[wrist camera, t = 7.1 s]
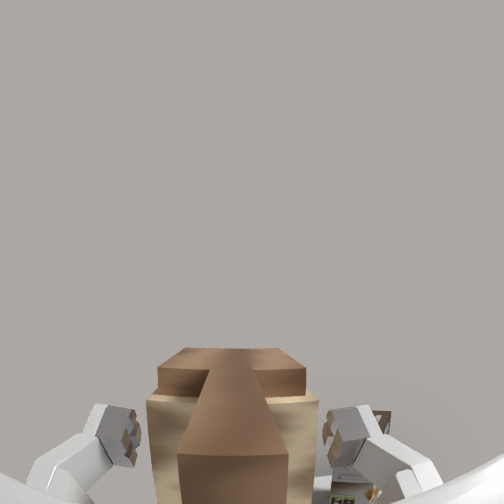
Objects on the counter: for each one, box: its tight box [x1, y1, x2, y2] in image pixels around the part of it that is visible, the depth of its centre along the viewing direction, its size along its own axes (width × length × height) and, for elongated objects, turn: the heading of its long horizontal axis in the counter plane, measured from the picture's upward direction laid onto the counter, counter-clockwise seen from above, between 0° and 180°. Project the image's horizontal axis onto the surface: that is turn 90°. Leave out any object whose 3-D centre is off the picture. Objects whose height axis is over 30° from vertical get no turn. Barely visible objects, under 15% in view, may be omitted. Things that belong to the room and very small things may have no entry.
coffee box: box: [329, 411, 391, 504], centre depth 35 cm, size 9×6×16 cm
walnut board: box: [158, 348, 306, 504], centre depth 19 cm, size 10×27×2 cm, turn 4°
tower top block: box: [146, 389, 319, 504], centre depth 23 cm, size 11×15×13 cm
